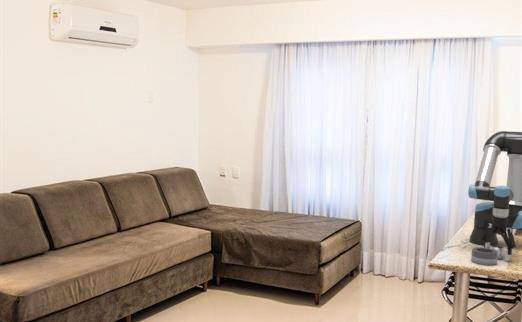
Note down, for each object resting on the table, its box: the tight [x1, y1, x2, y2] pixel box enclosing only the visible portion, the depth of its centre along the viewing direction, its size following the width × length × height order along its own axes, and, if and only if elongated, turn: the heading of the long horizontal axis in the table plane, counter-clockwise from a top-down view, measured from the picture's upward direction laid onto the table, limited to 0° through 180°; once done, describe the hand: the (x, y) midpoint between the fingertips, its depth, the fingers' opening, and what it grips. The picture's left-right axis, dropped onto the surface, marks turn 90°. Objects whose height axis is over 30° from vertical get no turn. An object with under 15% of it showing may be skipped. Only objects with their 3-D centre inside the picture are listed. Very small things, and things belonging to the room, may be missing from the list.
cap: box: [490, 244, 505, 261], centre depth 301 cm, size 6×6×6 cm
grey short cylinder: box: [470, 246, 498, 267], centre depth 292 cm, size 12×12×6 cm
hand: (496, 257), depth 301 cm, fingers open, 11 cm apart
